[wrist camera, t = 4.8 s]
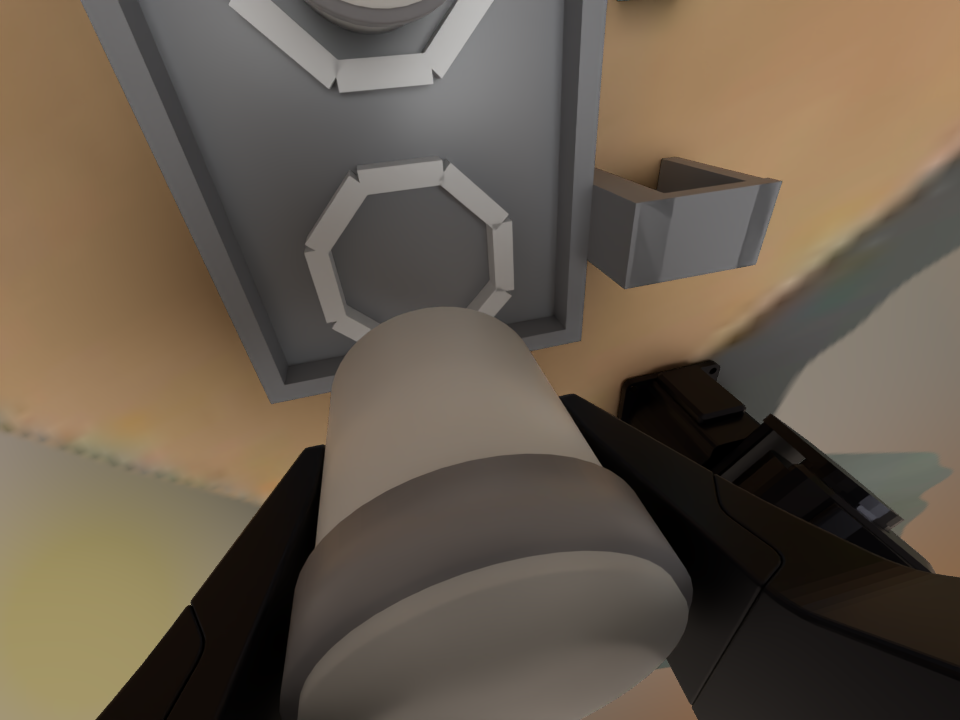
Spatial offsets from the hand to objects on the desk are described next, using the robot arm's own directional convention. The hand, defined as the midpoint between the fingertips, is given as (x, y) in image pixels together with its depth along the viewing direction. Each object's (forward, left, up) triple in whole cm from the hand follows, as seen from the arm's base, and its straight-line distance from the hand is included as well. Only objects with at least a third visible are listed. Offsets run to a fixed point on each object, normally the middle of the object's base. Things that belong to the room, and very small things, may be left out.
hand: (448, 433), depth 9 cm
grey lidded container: (0, 0, -1) cm, 1 cm away
